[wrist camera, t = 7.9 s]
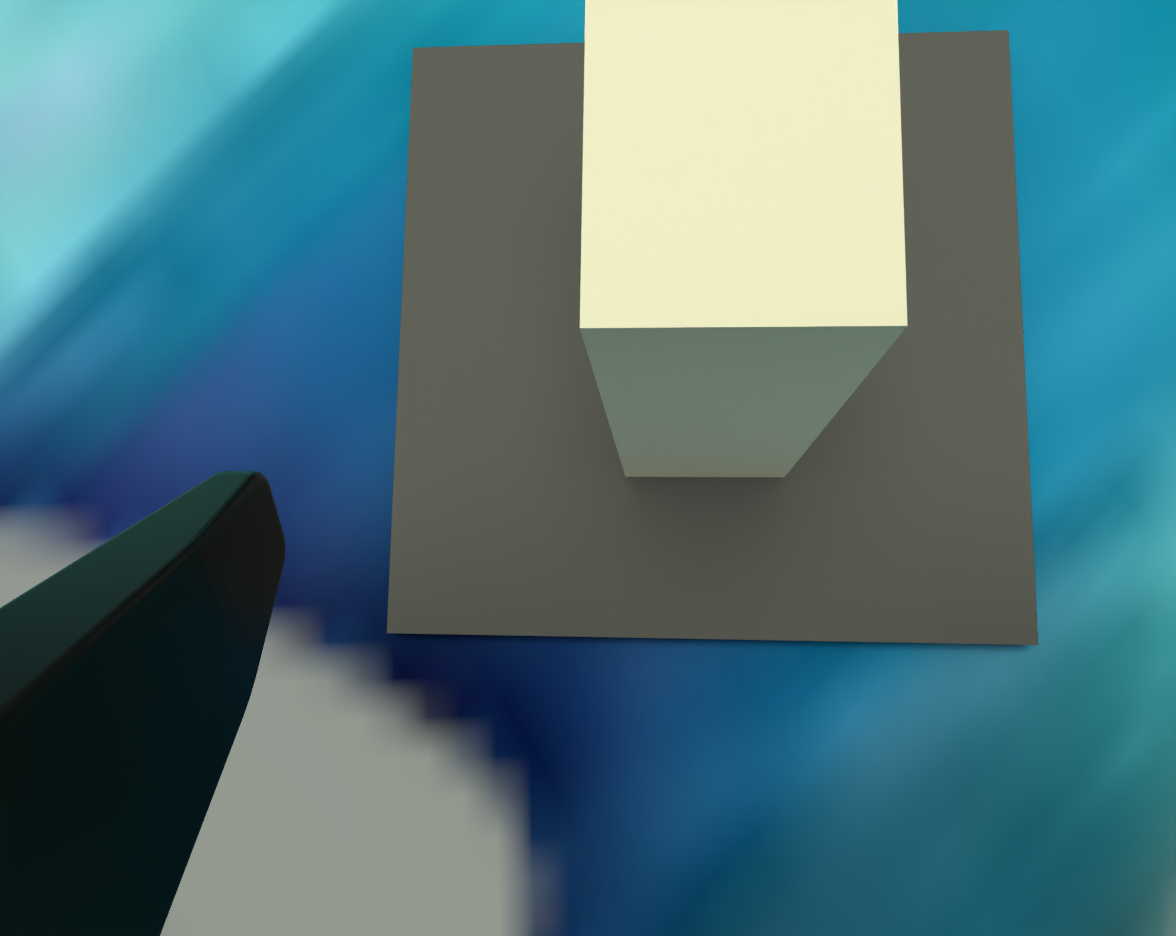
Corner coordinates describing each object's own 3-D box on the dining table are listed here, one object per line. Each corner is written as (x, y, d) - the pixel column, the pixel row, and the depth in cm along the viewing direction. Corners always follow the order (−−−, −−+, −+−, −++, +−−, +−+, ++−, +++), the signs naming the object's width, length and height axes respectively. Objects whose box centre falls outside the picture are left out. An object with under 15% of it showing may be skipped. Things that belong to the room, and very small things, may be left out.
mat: (1026, 644, 19) (1037, 644, 18) (395, 632, 20) (387, 633, 19) (998, 47, 21) (1008, 30, 20) (420, 63, 22) (413, 47, 21)
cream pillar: (787, 477, 19) (913, 326, 9) (622, 476, 19) (575, 327, 9) (783, 176, 20) (894, -257, 10) (626, 179, 20) (585, -241, 10)
